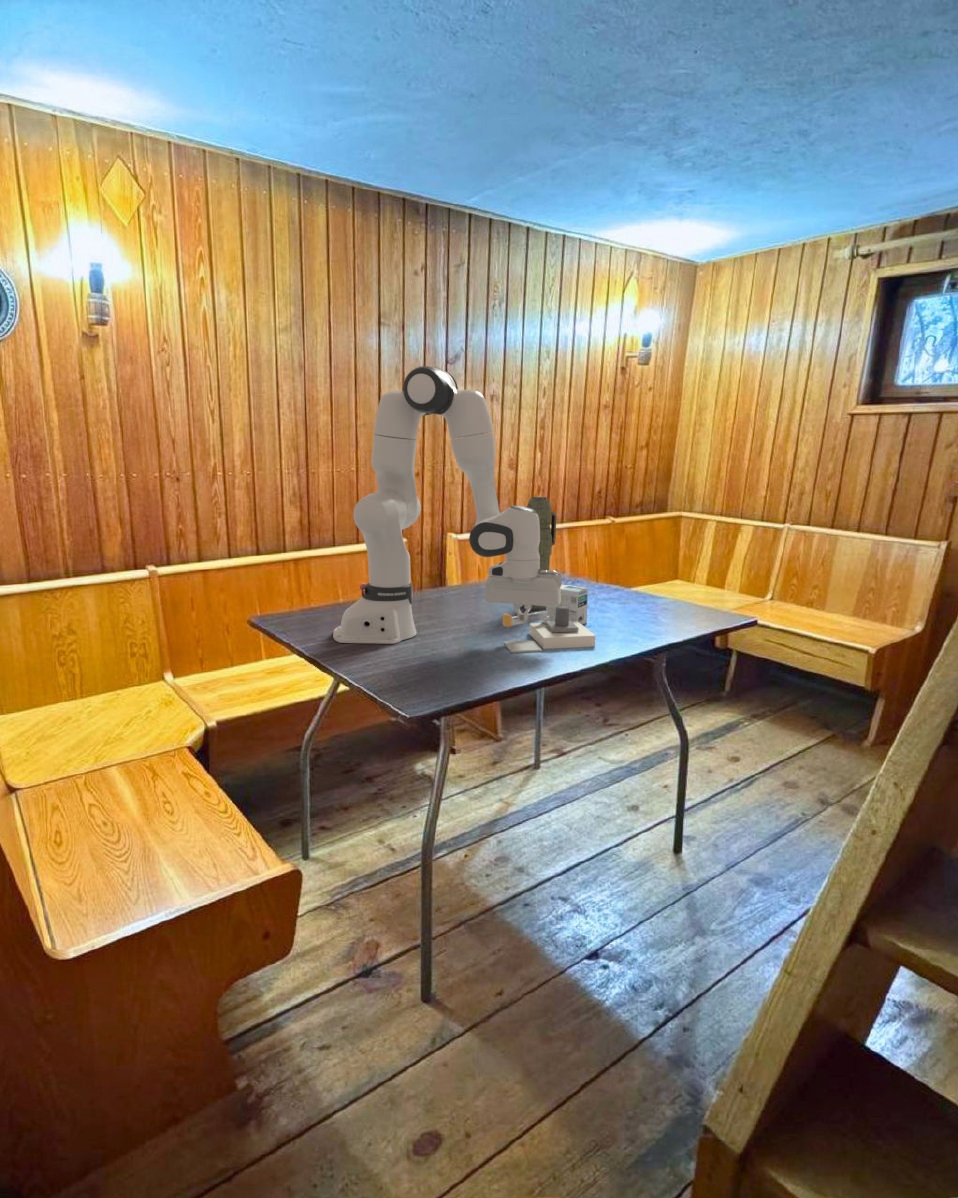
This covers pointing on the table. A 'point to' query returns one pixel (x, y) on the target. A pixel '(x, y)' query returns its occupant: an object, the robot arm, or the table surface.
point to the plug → (562, 621)
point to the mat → (522, 646)
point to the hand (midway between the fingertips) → (522, 620)
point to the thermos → (544, 533)
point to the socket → (561, 637)
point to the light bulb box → (572, 603)
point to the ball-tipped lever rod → (541, 615)
